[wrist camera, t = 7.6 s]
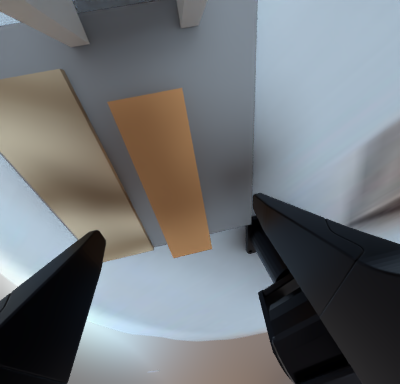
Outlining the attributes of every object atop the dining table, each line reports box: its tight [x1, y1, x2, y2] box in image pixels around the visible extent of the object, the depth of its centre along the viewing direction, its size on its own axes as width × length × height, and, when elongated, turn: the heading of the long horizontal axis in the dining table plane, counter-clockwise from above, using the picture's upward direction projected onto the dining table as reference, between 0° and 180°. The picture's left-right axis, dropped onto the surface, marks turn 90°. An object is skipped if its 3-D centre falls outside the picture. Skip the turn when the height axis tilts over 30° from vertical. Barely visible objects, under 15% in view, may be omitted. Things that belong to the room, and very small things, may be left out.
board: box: [0, 0, 258, 247], centre depth 13 cm, size 18×18×1 cm
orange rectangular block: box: [107, 88, 212, 258], centre depth 12 cm, size 12×4×4 cm, turn 9°
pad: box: [0, 69, 154, 262], centre depth 13 cm, size 16×6×1 cm, turn 9°
